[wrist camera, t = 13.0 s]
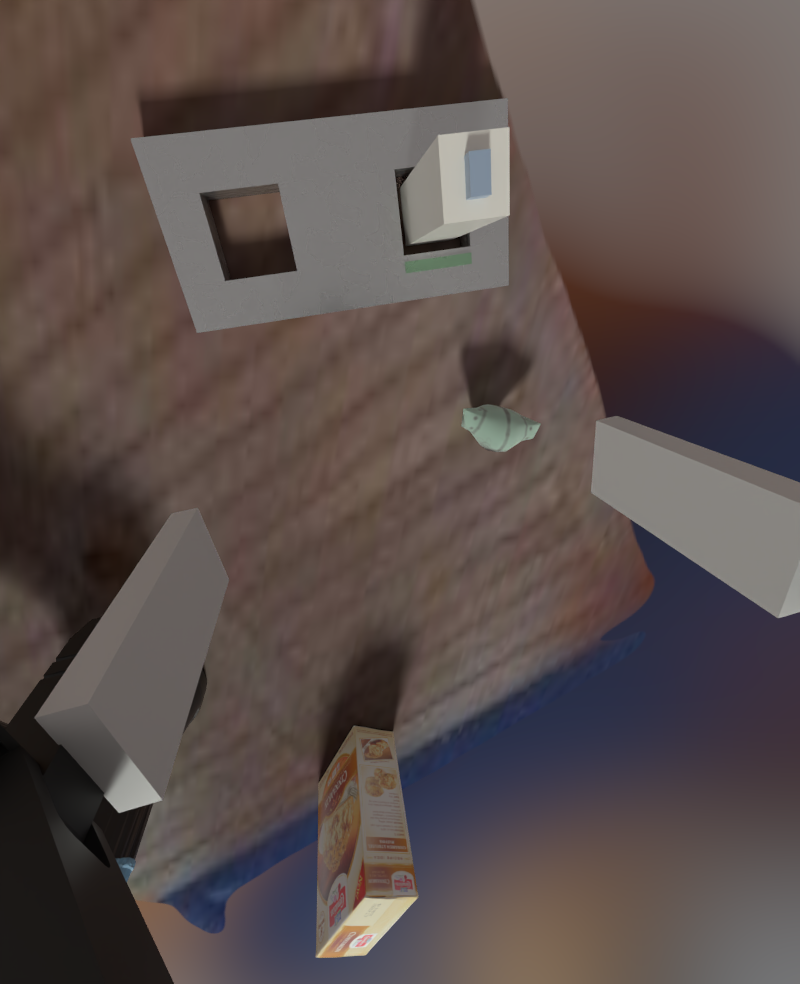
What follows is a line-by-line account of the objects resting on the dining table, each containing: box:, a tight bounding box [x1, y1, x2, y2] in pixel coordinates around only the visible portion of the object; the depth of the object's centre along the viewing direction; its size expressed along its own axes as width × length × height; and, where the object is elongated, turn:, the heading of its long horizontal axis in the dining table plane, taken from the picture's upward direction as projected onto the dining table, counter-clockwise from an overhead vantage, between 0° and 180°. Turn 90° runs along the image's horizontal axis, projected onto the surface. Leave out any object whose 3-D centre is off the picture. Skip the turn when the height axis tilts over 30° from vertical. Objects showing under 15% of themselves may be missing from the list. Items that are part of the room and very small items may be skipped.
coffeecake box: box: [316, 726, 418, 958], centre depth 55 cm, size 15×7×20 cm, turn 153°
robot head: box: [462, 404, 541, 452], centre depth 39 cm, size 8×4×7 cm, turn 77°
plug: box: [400, 127, 510, 246], centre depth 27 cm, size 4×4×13 cm
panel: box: [131, 98, 509, 333], centre depth 31 cm, size 26×12×3 cm, turn 97°
